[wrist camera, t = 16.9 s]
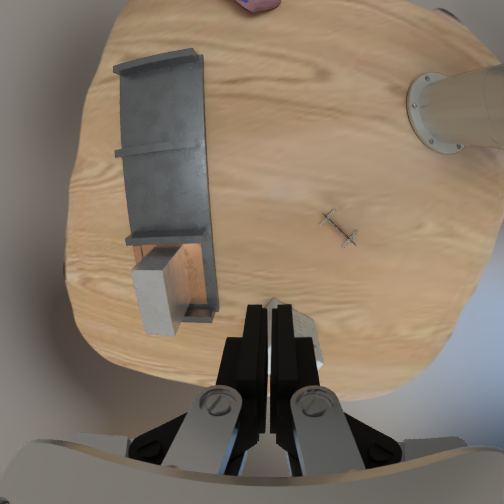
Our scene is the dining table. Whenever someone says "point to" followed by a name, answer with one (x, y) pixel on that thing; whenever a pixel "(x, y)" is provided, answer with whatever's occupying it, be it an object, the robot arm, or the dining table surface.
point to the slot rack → (169, 167)
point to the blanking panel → (162, 289)
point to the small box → (296, 332)
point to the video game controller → (259, 4)
